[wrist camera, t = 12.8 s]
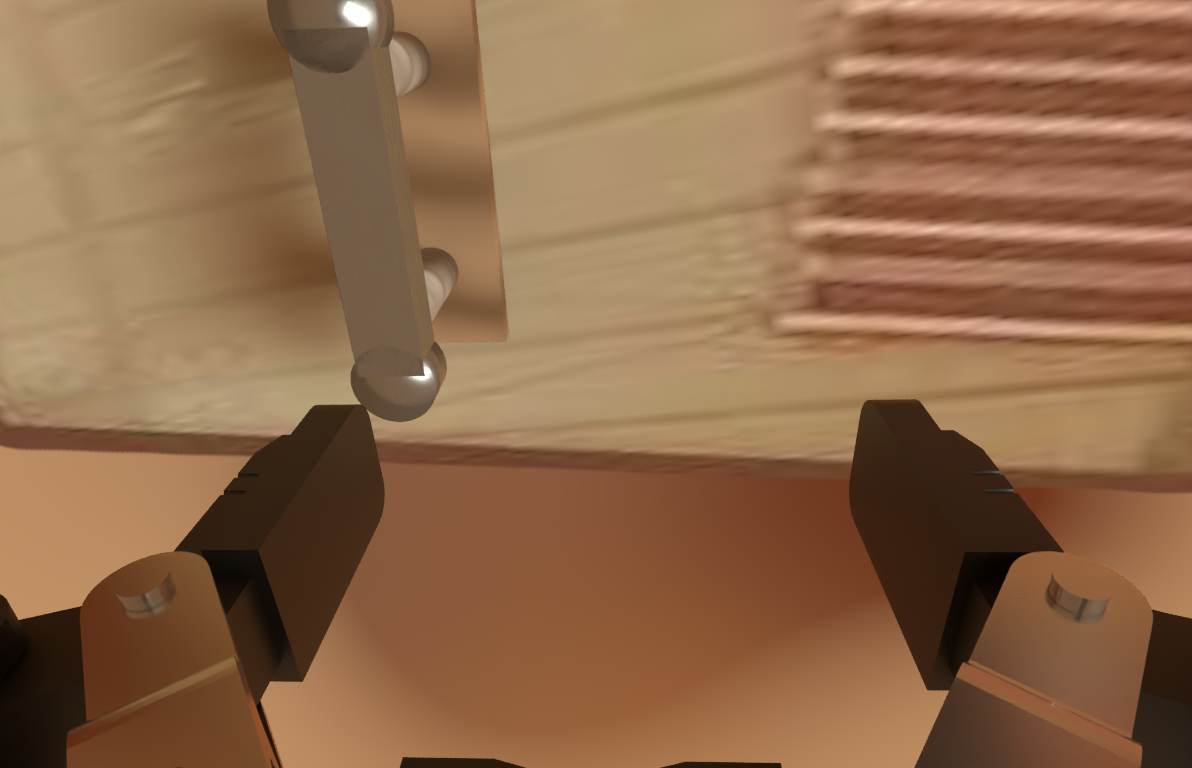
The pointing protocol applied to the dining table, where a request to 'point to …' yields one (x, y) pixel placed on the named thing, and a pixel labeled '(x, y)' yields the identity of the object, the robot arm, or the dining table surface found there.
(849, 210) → the dining table surface
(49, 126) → the dining table surface
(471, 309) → the peg stand
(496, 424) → the dining table surface
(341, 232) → the grey knobbed bar
